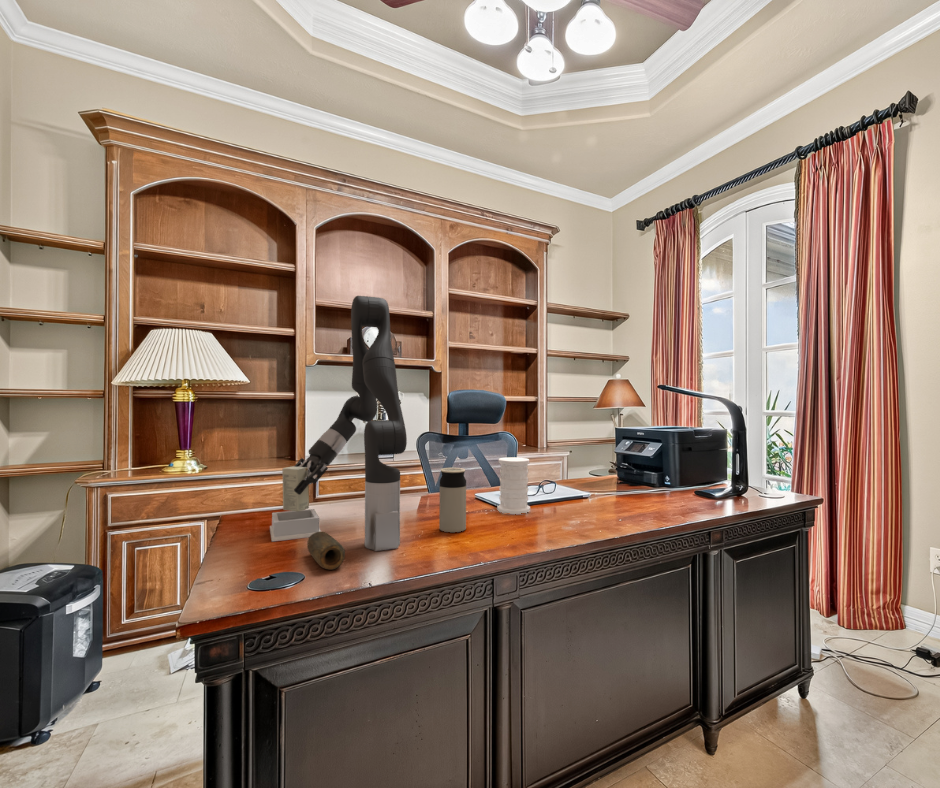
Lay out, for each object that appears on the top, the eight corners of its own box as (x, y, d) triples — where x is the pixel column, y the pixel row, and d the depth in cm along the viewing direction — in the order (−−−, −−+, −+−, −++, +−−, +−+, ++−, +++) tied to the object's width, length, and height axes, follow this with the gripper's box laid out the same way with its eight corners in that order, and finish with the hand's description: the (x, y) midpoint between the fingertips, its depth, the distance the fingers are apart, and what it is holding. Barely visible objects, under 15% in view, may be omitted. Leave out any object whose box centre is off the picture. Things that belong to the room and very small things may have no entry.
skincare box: (309, 508, 136) (309, 467, 136) (298, 512, 132) (298, 469, 132) (293, 506, 138) (293, 465, 138) (281, 509, 135) (281, 467, 134)
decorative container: (509, 516, 155) (509, 462, 155) (491, 508, 165) (491, 458, 165) (537, 512, 161) (537, 460, 161) (517, 505, 171) (517, 456, 171)
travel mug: (462, 534, 134) (463, 471, 134) (436, 532, 136) (436, 470, 136) (468, 526, 142) (468, 467, 142) (443, 525, 144) (443, 466, 144)
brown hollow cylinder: (350, 569, 107) (350, 540, 107) (320, 575, 103) (320, 545, 103) (330, 551, 119) (330, 525, 119) (302, 556, 115) (302, 529, 115)
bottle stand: (321, 535, 132) (321, 518, 132) (271, 541, 126) (272, 523, 126) (315, 524, 143) (315, 508, 144) (269, 529, 138) (270, 512, 138)
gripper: (308, 437, 145) (271, 479, 137) (331, 440, 135) (292, 486, 127) (324, 452, 149) (288, 494, 141) (347, 457, 139) (310, 502, 131)
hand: (290, 490), depth 134 cm, fingers closed on skincare box, 7 cm apart
